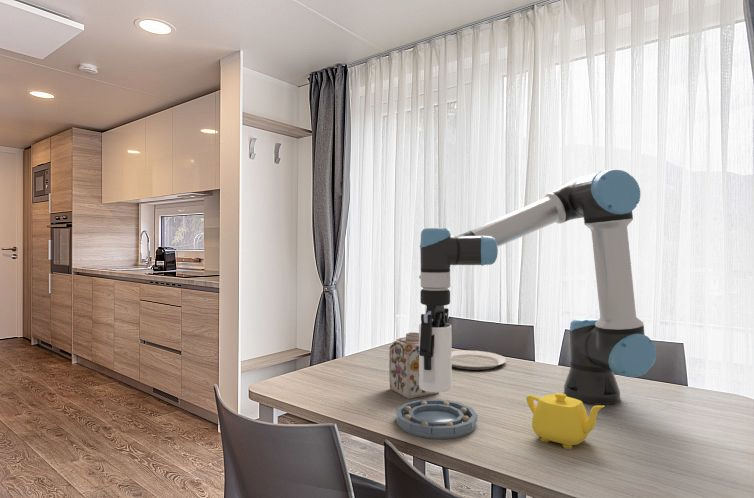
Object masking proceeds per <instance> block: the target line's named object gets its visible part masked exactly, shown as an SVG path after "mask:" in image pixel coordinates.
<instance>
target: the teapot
mask: <svg viewBox="0 0 754 498" xmlns="http://www.w3.org/2000/svg"><path fill="white" fill-rule="evenodd" d="M534 401H537V403H536V405H535V403H534ZM526 403H527V405H528V407H529V409H530V411H531V413H532V414H533V415H532V420H531V421H532V422H531V427H532V430H533V431H534V434H535V435H536V436H538V437H539V440H540V441H541V442H543V443H549V442H553V443H559V444H561V447H562V446H563V447H564V449H566V448H568V449H567V450H572V449H573V448H572V447H573V446H577V445H580V444H581V443H582V442H583V441H585V440H586V439H587V437H588V436H589V434H590V433H591V431H593V429H594V428H595V427H596V423H597V415H598V412H599V411H600V410H601V409H602V408H605V407H606V406H605V405H604V404H596V405H594V406H592V408H591V409H590V413H589V414H588V412H587V409H586V407H585V405H584V402H582V401H580V400H578V399H574V398H571V397H567V396H566V394H564V392H555V393H553V394H551V393H550V394H549V393H548V394H546V395H544V396H542V397H540V396H536V395H534V394H533V395H532V394H527V396H526ZM563 447H562V448H563ZM571 448H572V449H571Z"/></svg>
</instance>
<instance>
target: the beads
mask: <svg viewBox="0 0 754 498" xmlns="http://www.w3.org/2000/svg"><path fill="white" fill-rule="evenodd" d="M424 404H427V402H426V401H422V402H421V405H424ZM443 405H448V406H450V404H449V402H444V403H443ZM410 410H411V407H410V406H406V407H405V412H406V413H409V411H410ZM460 410H461V411H462V413H463V414H464V415H465V414H466V413H467V409H466V408H464V407H462V408H461V409H460ZM404 418H406V419H408V420H411V416H410V415H409V414H406V415H405V416H404ZM468 420H469V417H468V416H463V418H462V421H463V422H467V421H468ZM421 424H423V425H428V423H427V422H426V421H423V422H422V423H421ZM446 426H453V423H452V422H447V423H446Z"/></svg>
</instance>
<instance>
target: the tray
mask: <svg viewBox="0 0 754 498" xmlns="http://www.w3.org/2000/svg"><path fill="white" fill-rule="evenodd" d="M422 401H426V402H427V404H424V405H421V402H422ZM444 402H449V404H450V406H448V405H443V403H444ZM406 406H410V407H411V410H410V411H409V413H406V412H405V407H406ZM462 407H464V408H466V409H467V413H466V414H465V415H464V414H463V413H462V411H461V410H460V409H461V408H462ZM406 414H409V415H410V416H411V420H408V419H406V418H404V416H405V415H406ZM395 416H396V425H397V427H398V428H399V429H400V430H401V431H403V432H405V433H407V434H408V435H411V436H415V437H419V438H425V439H433V440H451V439H457V438H461V437H465V436H468V435H469V434H471V433H473V432H474V431H475V430H476V428H477V423H478V414H477V413H476V411H475V410H474V408H473V407H471V406H469V405H466V404H464V403H461V402H460V401H459V402H458V401H453V400H447V399H439V398H438V399H437V398H436V399H435V398H434V399H433V398H432V399H431V398H430V399H429V398H428V399H417V400H413V401H409V402H405V403H403V404H401V405H400V406H399V407H398V408H396V410H395ZM463 416H468V417H469V420H468V421H467V422H463V421H462V418H463ZM423 421H426V422H427V423H428V425H423V424H421V423H422V422H423ZM447 422H452V423H453V426H446V423H447Z"/></svg>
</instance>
